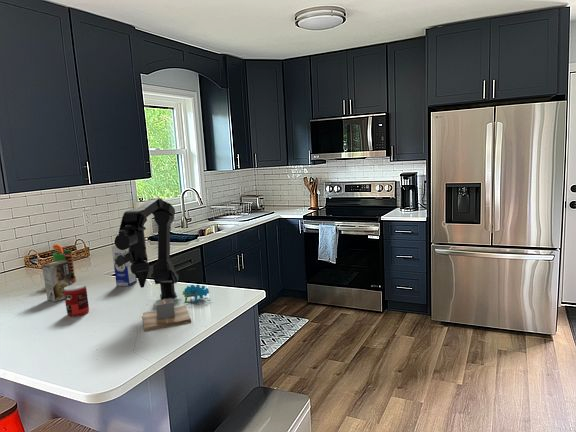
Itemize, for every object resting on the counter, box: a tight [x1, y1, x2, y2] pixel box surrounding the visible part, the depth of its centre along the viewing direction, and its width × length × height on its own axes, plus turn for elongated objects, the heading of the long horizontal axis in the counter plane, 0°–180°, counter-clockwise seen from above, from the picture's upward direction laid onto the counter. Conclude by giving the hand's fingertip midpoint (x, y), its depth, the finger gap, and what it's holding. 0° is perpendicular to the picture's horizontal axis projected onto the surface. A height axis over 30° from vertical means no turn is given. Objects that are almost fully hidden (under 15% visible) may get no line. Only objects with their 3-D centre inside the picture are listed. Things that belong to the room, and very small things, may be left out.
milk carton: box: [111, 245, 138, 287], centre depth 206 cm, size 7×7×20 cm
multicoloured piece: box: [52, 243, 77, 284], centre depth 216 cm, size 10×9×20 cm
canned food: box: [64, 283, 90, 317], centre depth 170 cm, size 8×8×11 cm
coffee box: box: [41, 260, 73, 302], centre depth 191 cm, size 9×6×16 cm
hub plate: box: [142, 305, 192, 332], centre depth 157 cm, size 16×16×5 cm
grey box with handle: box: [155, 298, 175, 320], centre depth 157 cm, size 6×6×6 cm
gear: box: [182, 284, 210, 303], centre depth 176 cm, size 11×6×10 cm
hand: (142, 284), depth 162 cm, fingers open, 9 cm apart
